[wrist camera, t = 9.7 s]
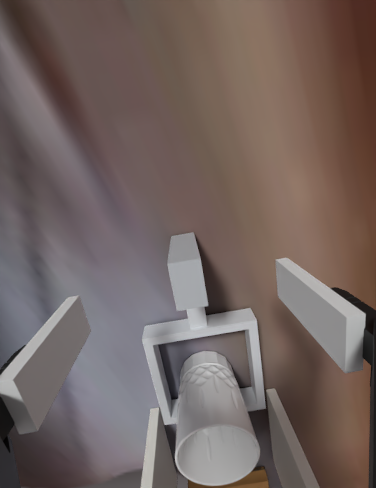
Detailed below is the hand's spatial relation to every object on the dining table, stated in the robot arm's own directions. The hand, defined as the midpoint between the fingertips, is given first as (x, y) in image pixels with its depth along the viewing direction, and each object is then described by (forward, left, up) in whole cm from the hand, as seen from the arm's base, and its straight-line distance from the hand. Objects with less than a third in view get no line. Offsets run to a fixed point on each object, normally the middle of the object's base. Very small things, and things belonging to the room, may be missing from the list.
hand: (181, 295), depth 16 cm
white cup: (+18, 0, -12) cm, 21 cm away
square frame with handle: (+10, 0, -11) cm, 15 cm away
